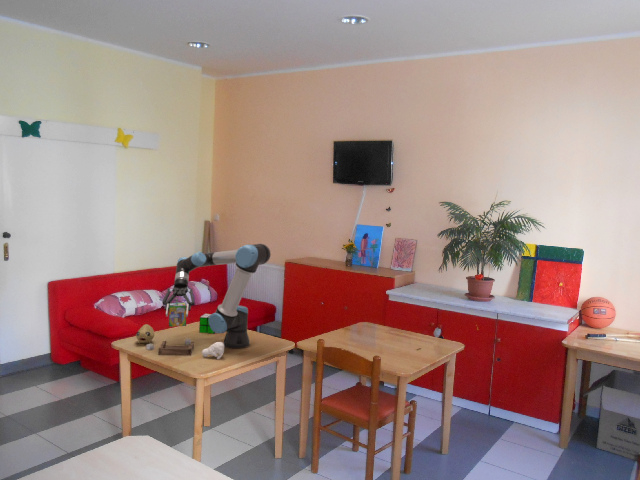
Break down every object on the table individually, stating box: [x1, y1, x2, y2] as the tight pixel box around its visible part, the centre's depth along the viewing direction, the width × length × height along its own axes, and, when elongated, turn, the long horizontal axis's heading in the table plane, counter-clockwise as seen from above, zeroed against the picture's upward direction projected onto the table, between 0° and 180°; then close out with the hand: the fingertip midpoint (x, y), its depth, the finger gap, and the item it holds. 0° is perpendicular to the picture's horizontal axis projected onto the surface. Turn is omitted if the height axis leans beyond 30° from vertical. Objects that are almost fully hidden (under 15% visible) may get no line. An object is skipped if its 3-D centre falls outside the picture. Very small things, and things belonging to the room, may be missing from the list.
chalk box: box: [168, 298, 187, 328], centre depth 290 cm, size 9×9×15 cm
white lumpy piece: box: [201, 341, 225, 360], centre depth 283 cm, size 6×8×12 cm
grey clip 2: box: [184, 338, 192, 346], centre depth 306 cm, size 3×3×2 cm
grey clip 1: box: [145, 343, 155, 351], centre depth 292 cm, size 3×3×2 cm
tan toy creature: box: [135, 323, 155, 344], centre depth 302 cm, size 10×12×11 cm
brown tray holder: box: [157, 340, 195, 356], centre depth 292 cm, size 15×17×3 cm
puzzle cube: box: [198, 313, 216, 335], centre depth 335 cm, size 10×10×10 cm
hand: (176, 315), depth 287 cm, fingers closed on chalk box, 10 cm apart
